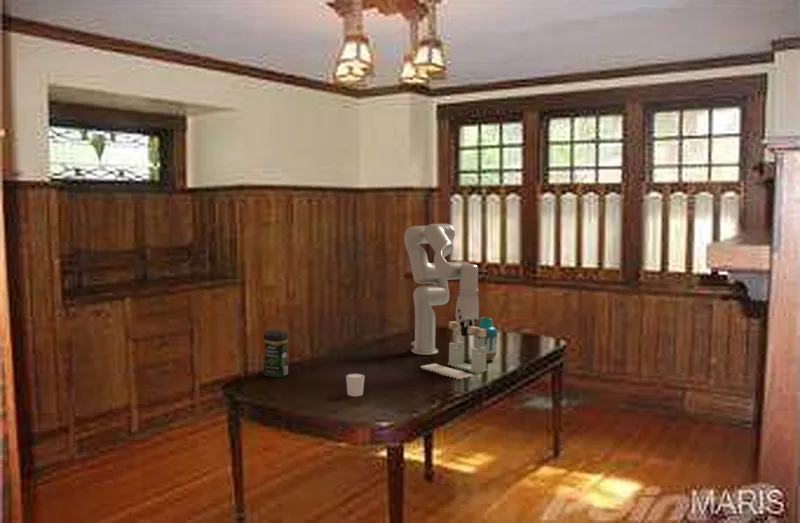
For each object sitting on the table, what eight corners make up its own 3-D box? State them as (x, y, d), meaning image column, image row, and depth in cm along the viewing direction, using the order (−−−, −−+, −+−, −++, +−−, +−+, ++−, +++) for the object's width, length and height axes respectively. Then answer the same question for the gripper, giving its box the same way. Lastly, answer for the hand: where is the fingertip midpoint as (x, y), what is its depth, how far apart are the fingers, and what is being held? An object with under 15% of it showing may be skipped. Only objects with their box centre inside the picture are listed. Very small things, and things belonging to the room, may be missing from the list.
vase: (496, 363, 305) (497, 320, 303) (472, 362, 307) (473, 319, 306) (497, 358, 316) (498, 316, 314) (474, 356, 318) (475, 315, 316)
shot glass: (345, 391, 259) (345, 373, 258) (364, 391, 259) (364, 373, 259) (346, 396, 252) (346, 378, 251) (364, 396, 252) (364, 377, 252)
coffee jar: (260, 376, 279) (259, 331, 278) (271, 372, 286) (271, 327, 285) (280, 379, 275) (280, 333, 274) (291, 374, 282) (291, 330, 281)
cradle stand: (447, 365, 301) (448, 342, 301) (457, 363, 305) (458, 340, 304) (476, 373, 287) (477, 349, 286) (487, 371, 291) (487, 348, 290)
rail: (448, 328, 302) (449, 321, 302) (453, 327, 304) (453, 321, 304) (481, 337, 287) (481, 330, 286) (486, 336, 288) (486, 329, 288)
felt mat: (420, 367, 296) (420, 366, 296) (434, 365, 301) (434, 363, 301) (458, 379, 277) (459, 377, 277) (473, 376, 282) (473, 374, 282)
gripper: (475, 290, 301) (474, 331, 303) (448, 293, 291) (447, 336, 293) (488, 292, 295) (486, 334, 298) (460, 295, 285) (459, 339, 288)
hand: (467, 335), depth 295 cm, fingers closed on rail, 2 cm apart
